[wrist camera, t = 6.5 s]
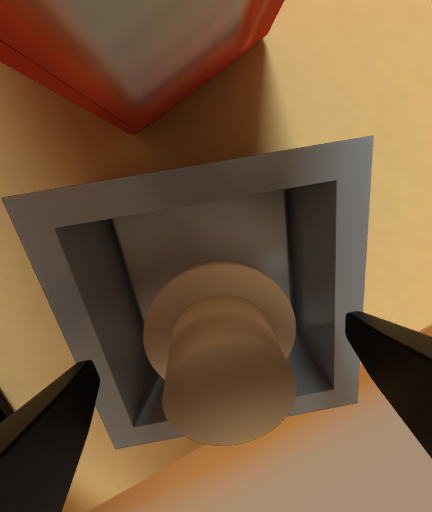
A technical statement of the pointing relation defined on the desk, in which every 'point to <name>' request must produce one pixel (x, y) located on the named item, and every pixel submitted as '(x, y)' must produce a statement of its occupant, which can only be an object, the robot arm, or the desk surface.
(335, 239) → the grey square tray
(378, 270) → the desk surface
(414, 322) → the desk surface
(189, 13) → the file binder
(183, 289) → the knob on square base
